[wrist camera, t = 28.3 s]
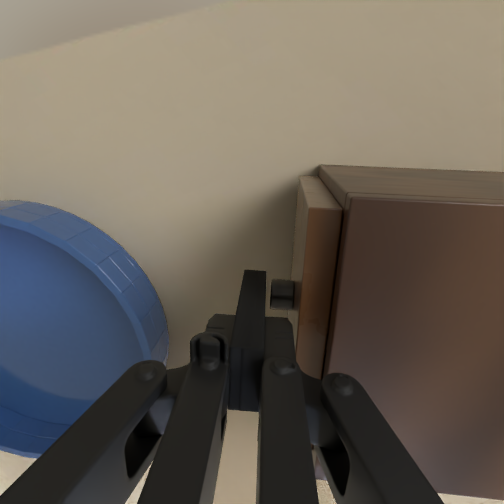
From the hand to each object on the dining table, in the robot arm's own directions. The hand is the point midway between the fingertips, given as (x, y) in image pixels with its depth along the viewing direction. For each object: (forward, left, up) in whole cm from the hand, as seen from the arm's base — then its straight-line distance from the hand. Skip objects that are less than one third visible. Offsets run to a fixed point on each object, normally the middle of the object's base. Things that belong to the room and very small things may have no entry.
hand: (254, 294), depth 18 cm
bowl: (+7, -17, -6) cm, 19 cm away
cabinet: (0, +10, -6) cm, 11 cm away
